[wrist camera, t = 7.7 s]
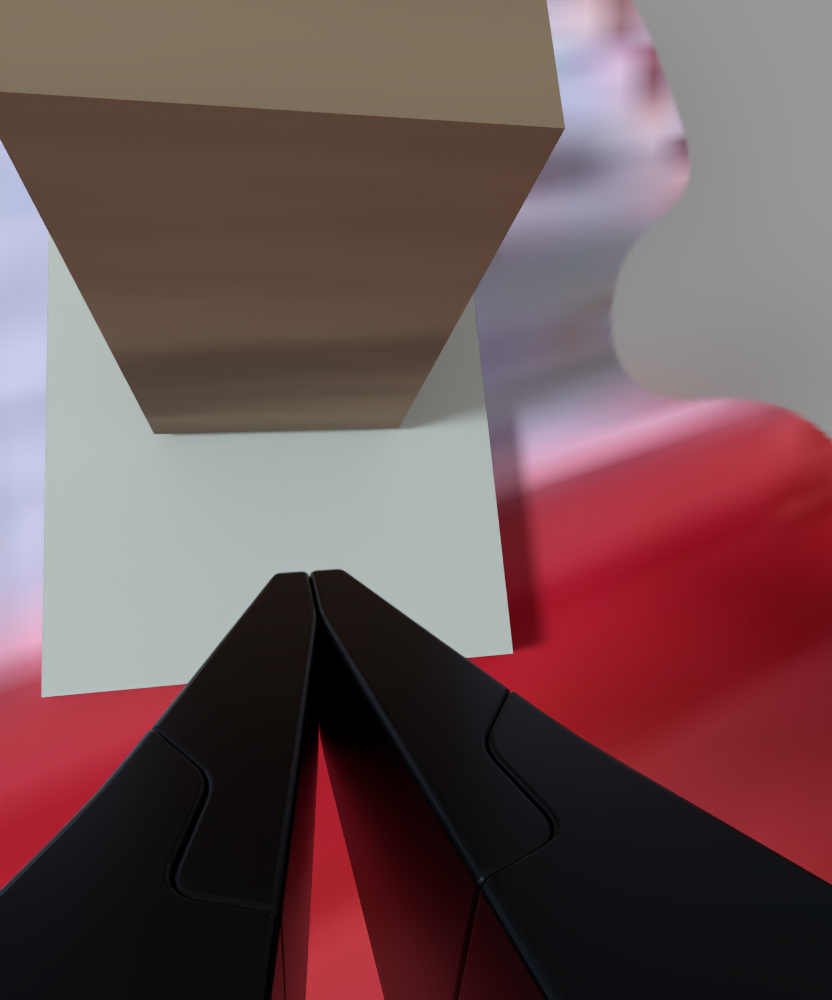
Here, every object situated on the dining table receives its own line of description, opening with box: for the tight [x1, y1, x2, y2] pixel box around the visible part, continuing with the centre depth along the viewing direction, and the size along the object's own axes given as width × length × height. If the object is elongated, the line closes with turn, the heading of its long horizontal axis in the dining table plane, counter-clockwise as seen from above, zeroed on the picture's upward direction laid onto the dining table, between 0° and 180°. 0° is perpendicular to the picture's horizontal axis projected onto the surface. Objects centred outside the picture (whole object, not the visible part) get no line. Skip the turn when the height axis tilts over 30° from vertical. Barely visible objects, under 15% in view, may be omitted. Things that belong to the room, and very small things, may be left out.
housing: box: [42, 233, 513, 697], centre depth 17 cm, size 14×11×6 cm
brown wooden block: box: [0, 0, 565, 434], centre depth 13 cm, size 5×6×11 cm
